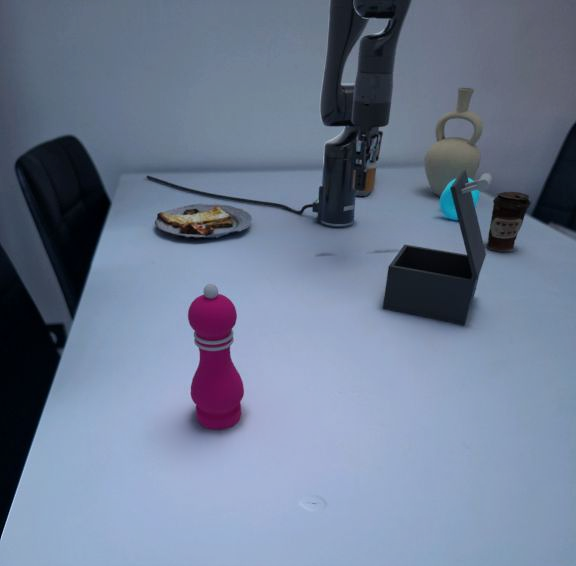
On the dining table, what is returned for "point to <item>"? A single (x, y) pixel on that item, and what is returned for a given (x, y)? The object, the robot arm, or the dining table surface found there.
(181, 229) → the food plate
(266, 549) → the dining table surface
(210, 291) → the pepper mill
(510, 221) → the coffee cup
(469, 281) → the dark hinged chest
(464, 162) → the vase
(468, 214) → the lid
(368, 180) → the coffee pod
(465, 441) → the dining table surface
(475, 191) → the donuts
